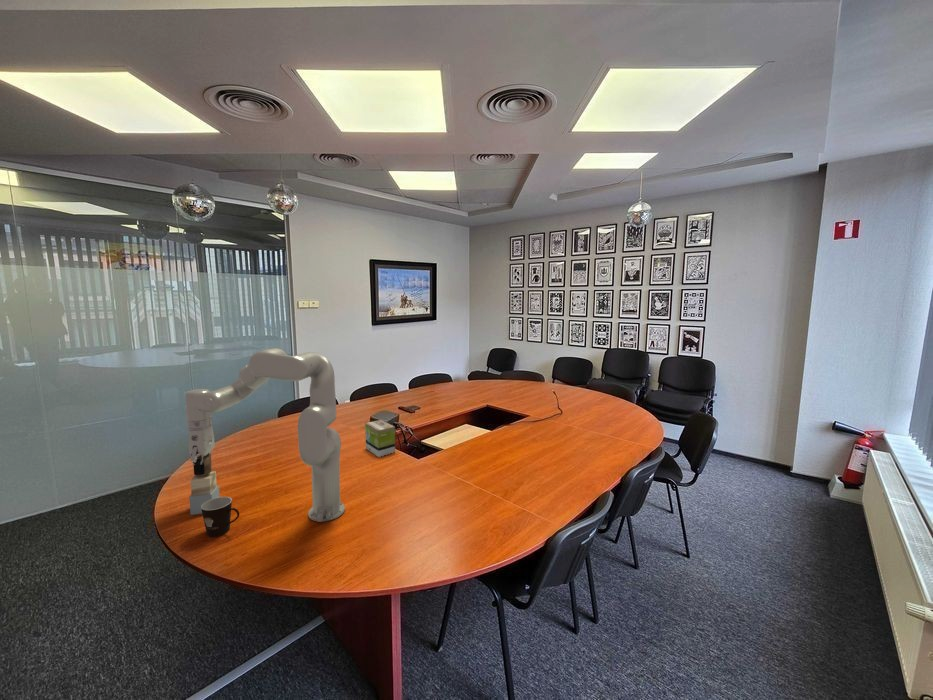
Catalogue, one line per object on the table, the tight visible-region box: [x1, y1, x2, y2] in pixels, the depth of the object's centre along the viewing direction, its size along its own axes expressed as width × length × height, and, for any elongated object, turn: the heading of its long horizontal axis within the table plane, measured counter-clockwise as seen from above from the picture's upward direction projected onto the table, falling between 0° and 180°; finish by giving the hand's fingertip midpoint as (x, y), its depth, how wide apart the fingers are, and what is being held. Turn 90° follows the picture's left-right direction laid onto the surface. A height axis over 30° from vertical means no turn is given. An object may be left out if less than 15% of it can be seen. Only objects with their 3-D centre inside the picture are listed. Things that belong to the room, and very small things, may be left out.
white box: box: [189, 485, 220, 516], centre depth 138 cm, size 7×7×7 cm
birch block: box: [190, 470, 218, 496], centre depth 137 cm, size 6×6×6 cm
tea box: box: [364, 419, 396, 458], centre depth 195 cm, size 15×10×15 cm
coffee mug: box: [201, 496, 240, 538], centre depth 123 cm, size 12×9×10 cm
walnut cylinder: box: [197, 454, 213, 476], centre depth 136 cm, size 5×5×6 cm
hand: (203, 470), depth 136 cm, fingers closed on walnut cylinder, 5 cm apart
